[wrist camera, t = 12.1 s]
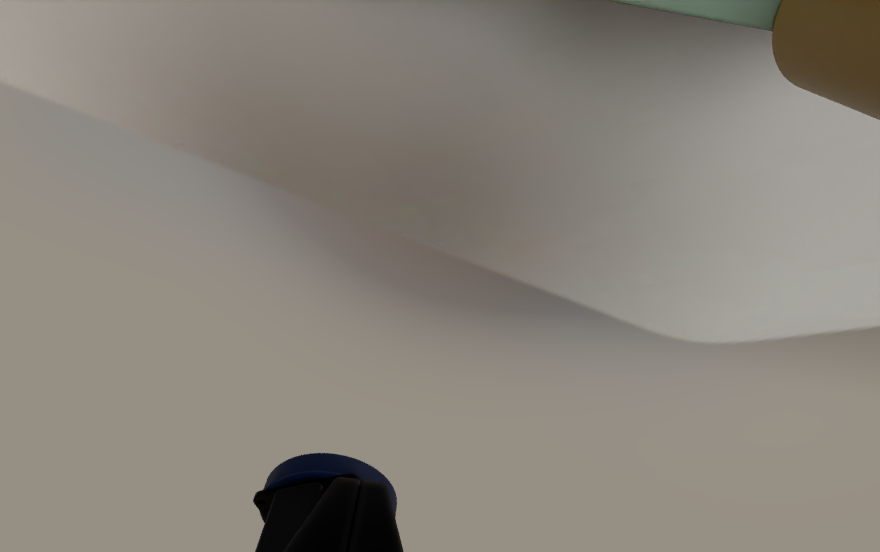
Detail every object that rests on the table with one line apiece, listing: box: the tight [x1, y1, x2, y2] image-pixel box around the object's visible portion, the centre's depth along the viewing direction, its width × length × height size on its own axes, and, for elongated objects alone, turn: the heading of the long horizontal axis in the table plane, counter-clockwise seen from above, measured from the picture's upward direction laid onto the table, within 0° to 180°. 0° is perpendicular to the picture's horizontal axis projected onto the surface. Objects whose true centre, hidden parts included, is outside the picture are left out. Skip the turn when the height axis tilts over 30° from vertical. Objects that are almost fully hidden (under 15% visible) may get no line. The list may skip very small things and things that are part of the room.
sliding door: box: [610, 0, 880, 120], centre depth 10 cm, size 2×8×11 cm, turn 81°
